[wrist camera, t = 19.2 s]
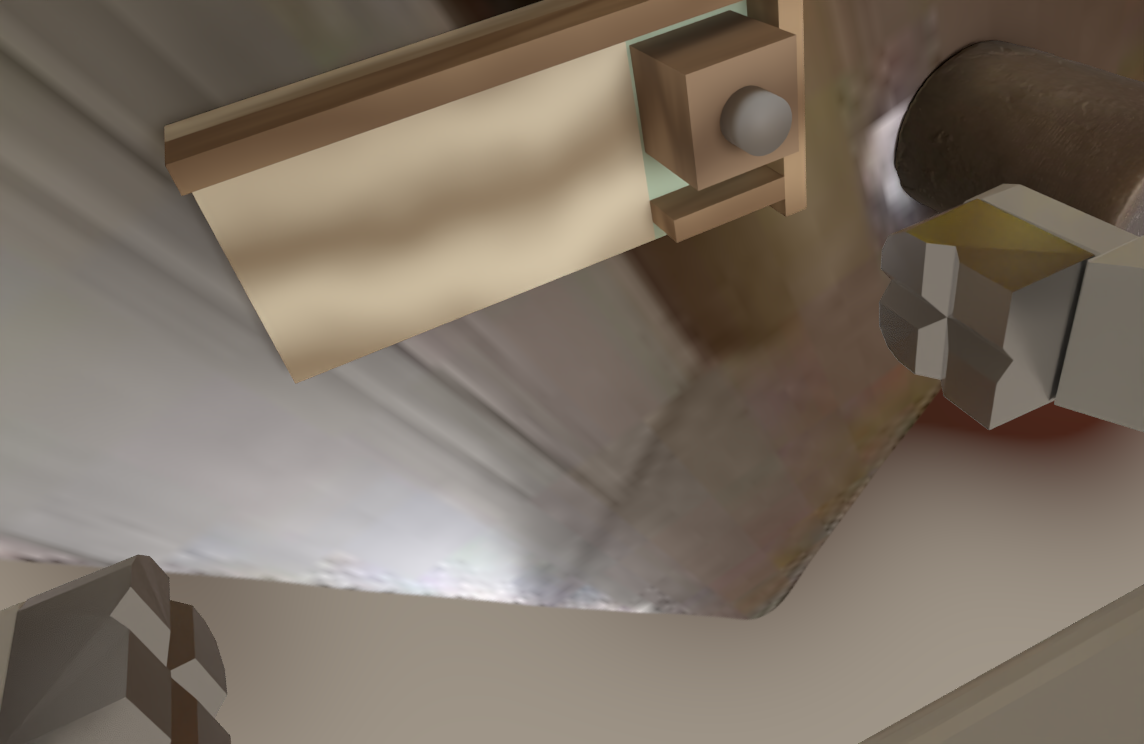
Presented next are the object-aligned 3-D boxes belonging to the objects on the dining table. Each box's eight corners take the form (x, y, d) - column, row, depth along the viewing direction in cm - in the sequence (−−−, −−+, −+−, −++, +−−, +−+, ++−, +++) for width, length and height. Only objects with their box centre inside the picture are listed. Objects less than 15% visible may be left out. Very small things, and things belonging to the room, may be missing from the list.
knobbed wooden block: (629, 45, 35) (705, 85, 31) (730, 9, 36) (819, 43, 31) (645, 152, 39) (716, 204, 34) (737, 117, 40) (820, 162, 35)
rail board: (164, 126, 32) (165, 165, 29) (742, -66, 37) (801, -52, 33) (290, 361, 40) (302, 414, 36) (756, 176, 44) (806, 208, 41)
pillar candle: (865, 175, 47) (1089, 297, 36) (967, 7, 44) (1251, 85, 32) (959, 221, 53) (1180, 340, 41) (1057, 75, 49) (1328, 162, 38)
